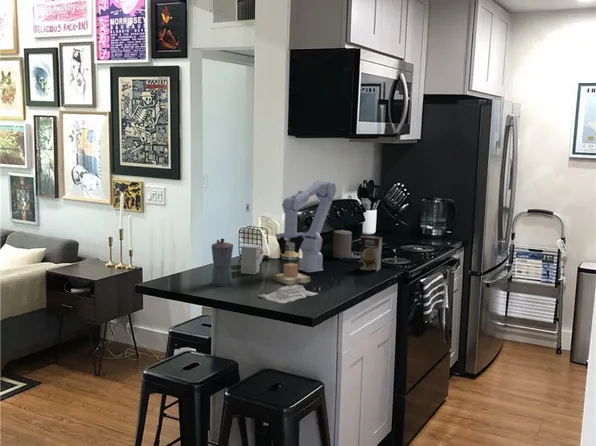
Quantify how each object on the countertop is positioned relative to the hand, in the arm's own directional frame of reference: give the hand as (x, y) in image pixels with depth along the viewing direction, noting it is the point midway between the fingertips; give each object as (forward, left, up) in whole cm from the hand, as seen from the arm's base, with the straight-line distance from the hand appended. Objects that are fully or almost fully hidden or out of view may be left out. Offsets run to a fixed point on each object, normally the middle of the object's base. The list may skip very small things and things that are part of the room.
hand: (289, 253), depth 285 cm
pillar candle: (-48, -22, -11) cm, 54 cm away
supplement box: (+13, -14, -11) cm, 22 cm away
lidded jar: (+5, -26, -11) cm, 29 cm away
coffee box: (-42, +8, -11) cm, 44 cm away
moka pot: (+35, -1, -11) cm, 36 cm away
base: (+5, +9, -10) cm, 14 cm away
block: (+5, +8, -8) cm, 12 cm away
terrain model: (+20, +29, -11) cm, 37 cm away
